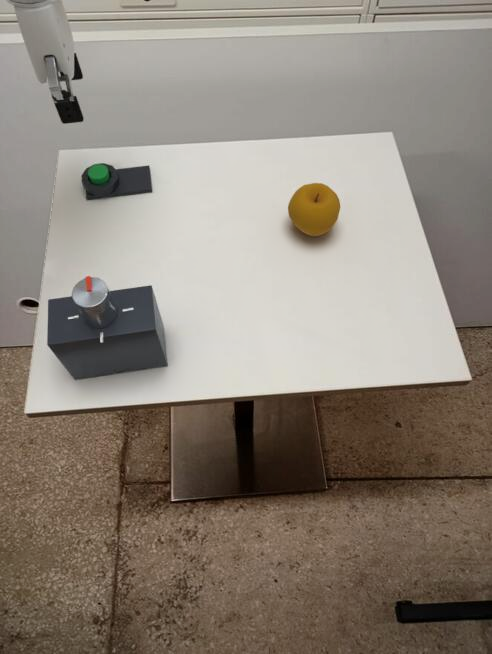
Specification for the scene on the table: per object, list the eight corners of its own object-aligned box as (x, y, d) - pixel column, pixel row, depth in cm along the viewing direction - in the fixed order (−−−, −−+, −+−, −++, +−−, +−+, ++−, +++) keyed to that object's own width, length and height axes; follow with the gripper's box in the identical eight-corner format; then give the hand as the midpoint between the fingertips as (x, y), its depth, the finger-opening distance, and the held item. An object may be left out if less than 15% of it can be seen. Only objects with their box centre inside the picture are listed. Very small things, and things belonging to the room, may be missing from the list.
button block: (85, 201, 92) (81, 191, 89) (85, 175, 95) (81, 165, 92) (152, 193, 93) (150, 183, 90) (149, 167, 96) (147, 157, 93)
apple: (279, 237, 88) (282, 202, 80) (297, 203, 92) (301, 167, 84) (324, 253, 86) (333, 219, 78) (341, 218, 90) (350, 183, 82)
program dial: (119, 324, 66) (108, 302, 61) (85, 331, 65) (71, 308, 60) (115, 297, 68) (105, 272, 63) (83, 303, 67) (69, 279, 62)
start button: (90, 186, 90) (87, 180, 89) (89, 171, 92) (87, 165, 91) (110, 183, 91) (108, 177, 89) (109, 169, 92) (107, 163, 91)
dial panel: (74, 385, 75) (46, 350, 64) (74, 334, 79) (47, 293, 68) (168, 370, 76) (156, 334, 65) (163, 321, 80) (150, 279, 69)
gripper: (3, -56, 65) (49, 66, 80) (-6, 23, 57) (47, 142, 72) (62, -61, 66) (96, 61, 81) (61, 17, 58) (99, 136, 73)
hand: (73, 99), depth 76 cm, fingers open, 9 cm apart
